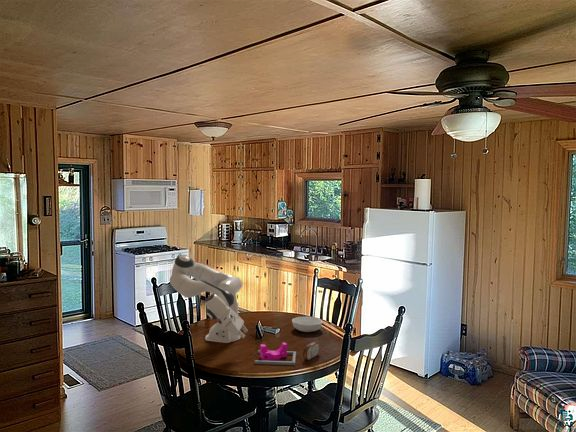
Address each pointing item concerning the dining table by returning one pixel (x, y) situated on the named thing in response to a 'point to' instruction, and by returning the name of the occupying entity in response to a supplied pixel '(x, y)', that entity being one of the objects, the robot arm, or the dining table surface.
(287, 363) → the frame
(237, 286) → the robot arm
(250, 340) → the dining table surface
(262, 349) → the toy block
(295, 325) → the serving bowl
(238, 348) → the dining table surface
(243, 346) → the dining table surface
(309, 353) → the tin
